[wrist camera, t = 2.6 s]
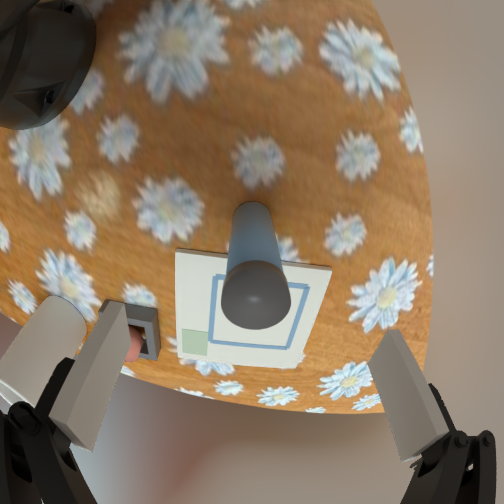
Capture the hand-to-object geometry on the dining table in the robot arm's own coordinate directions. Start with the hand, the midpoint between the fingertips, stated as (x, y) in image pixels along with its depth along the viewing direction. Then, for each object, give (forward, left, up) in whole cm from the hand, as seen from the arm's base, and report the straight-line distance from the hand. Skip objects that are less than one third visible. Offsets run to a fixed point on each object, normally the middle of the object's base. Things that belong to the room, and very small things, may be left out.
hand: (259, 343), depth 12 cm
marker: (0, 0, -15) cm, 15 cm away
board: (+12, +1, -15) cm, 19 cm away
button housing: (+16, -13, -15) cm, 25 cm away
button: (+16, -13, -13) cm, 24 cm away
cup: (+18, -25, -15) cm, 34 cm away
